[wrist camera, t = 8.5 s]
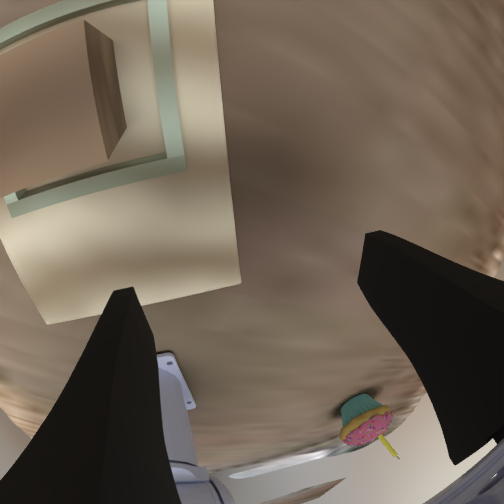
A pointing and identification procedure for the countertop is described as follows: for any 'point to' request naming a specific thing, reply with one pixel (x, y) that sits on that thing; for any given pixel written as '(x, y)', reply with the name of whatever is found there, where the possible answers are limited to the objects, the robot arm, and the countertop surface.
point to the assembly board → (133, 171)
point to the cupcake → (365, 421)
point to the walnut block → (58, 106)
